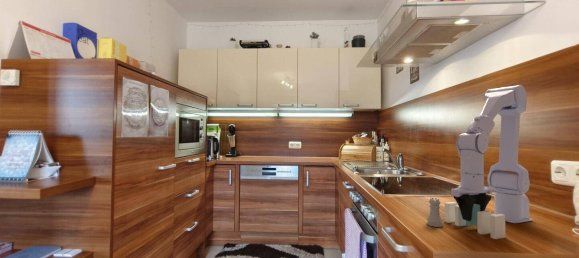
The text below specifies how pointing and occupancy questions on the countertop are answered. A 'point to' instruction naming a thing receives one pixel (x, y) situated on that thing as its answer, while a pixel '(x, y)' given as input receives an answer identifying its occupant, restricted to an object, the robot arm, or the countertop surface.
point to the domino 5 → (497, 226)
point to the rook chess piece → (434, 213)
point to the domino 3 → (474, 216)
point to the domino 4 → (484, 222)
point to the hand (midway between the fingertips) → (472, 219)
